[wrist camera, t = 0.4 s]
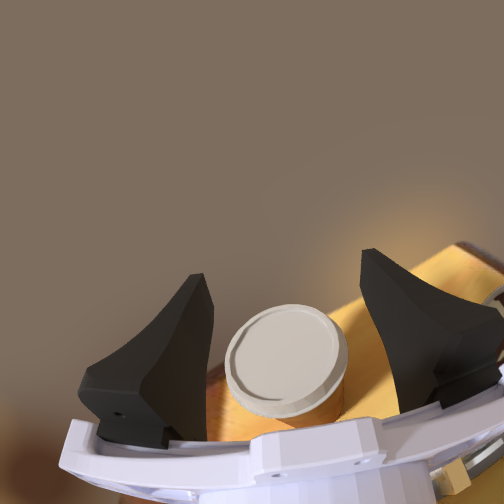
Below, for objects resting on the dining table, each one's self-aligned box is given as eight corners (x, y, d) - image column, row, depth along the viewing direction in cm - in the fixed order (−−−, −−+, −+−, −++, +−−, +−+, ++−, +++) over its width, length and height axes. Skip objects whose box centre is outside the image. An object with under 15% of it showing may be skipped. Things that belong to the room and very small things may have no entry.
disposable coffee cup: (320, 350, 31) (291, 281, 24) (377, 401, 24) (374, 344, 17) (254, 401, 29) (200, 349, 22) (303, 463, 22) (259, 440, 15)
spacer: (453, 487, 12) (471, 484, 9) (440, 495, 12) (456, 494, 9) (432, 437, 17) (444, 422, 14) (419, 444, 17) (429, 431, 14)
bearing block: (482, 454, 14) (503, 443, 11) (450, 476, 14) (467, 470, 11) (469, 427, 17) (487, 410, 14) (438, 447, 17) (451, 435, 14)
